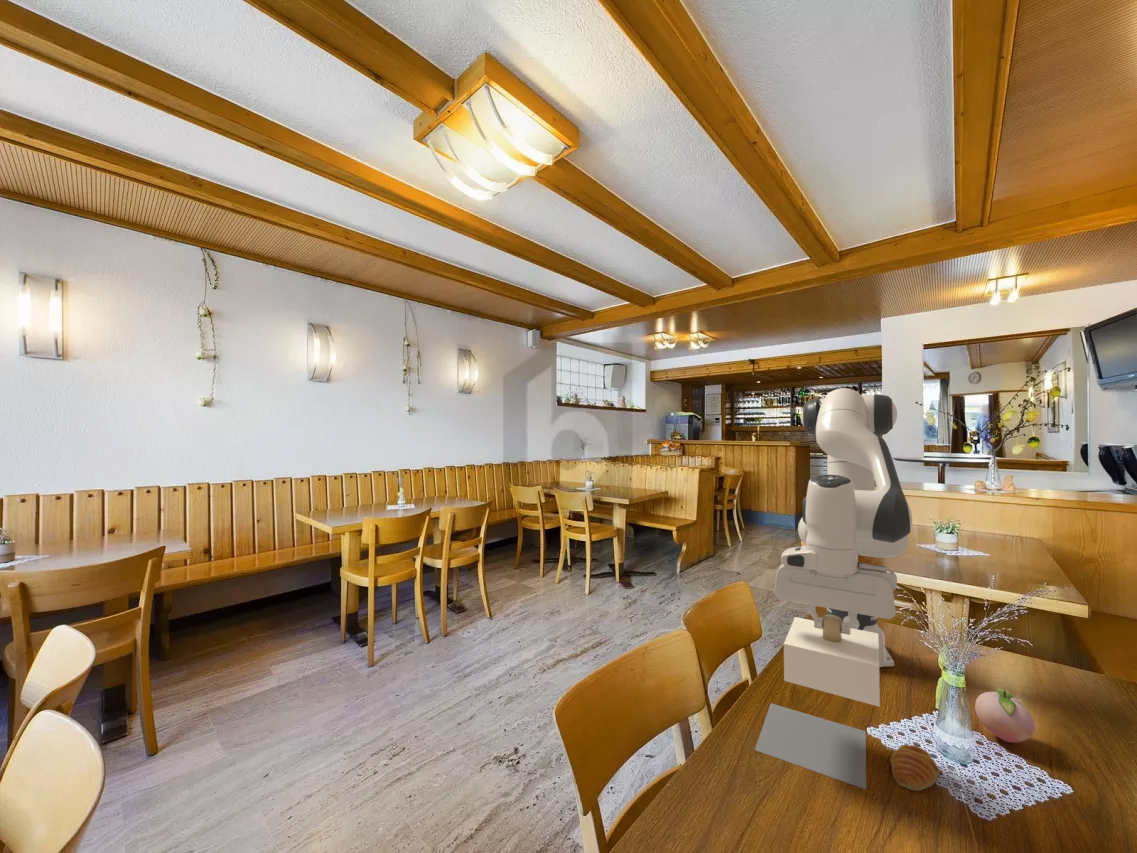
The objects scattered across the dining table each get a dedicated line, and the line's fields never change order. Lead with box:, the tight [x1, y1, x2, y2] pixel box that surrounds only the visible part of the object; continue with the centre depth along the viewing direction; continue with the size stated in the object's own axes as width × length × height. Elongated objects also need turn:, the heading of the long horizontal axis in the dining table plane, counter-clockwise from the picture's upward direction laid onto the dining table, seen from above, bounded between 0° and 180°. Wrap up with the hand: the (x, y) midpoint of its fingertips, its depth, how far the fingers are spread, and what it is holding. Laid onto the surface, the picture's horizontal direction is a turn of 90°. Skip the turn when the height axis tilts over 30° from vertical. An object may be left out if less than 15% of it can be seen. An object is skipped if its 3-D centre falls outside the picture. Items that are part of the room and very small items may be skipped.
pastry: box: [889, 744, 941, 792], centre depth 81 cm, size 9×7×4 cm
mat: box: [754, 702, 867, 790], centre depth 90 cm, size 18×18×1 cm
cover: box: [783, 614, 881, 707], centre depth 89 cm, size 15×15×11 cm
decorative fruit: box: [974, 688, 1036, 744], centre depth 91 cm, size 9×8×10 cm
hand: (832, 630), depth 89 cm, fingers closed on cover, 3 cm apart
